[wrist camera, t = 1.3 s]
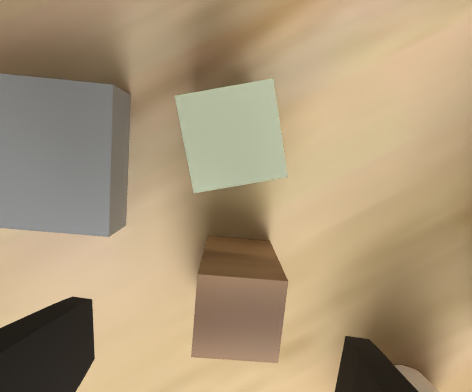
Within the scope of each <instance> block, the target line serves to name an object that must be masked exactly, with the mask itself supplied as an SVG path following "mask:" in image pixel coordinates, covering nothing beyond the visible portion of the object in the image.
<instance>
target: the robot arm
mask: <svg viewBox="0 0 472 392" xmlns="http://www.w3.org/2000/svg"><path fill="white" fill-rule="evenodd" d="M94 359H95V357H94V333H93V309H92V299H85V298H78V297H70V298H68V299H65V300H62V301H60V302H58V303H55V304H53V305H51V306H48V307H46V308H44V309H42V310H39V311H37V312H35V313H33V314H31V315H28V316H26V317H24V318H22V319H20V320H17V321H15V322H13V323H11V324H9V325H6V326H4V327H2V328H0V392H76V390H77V388H78V387H79V385H80V383H81V382H82V380H83V378H84V377H85V375H86V373H87V371H88V370H89V368H90V366H91V364H92V362H93V361H94ZM335 392H419V391H418V390H417V389H416V388H415V387H414V386H413V385H412V384H411V383H410V382H409V381H408V380H407V379H406V378H405V377H404V376H403V374H402V373H401V372H400V371H399V370H398V369H397V368H396V367H395V366H394V365H393V364H392V363H391V362H390V361H389V359H388V358H387V357H386V356H385V355H384V354H383V353H382V352H381V351H380V350H379V349H378V348H377V347H376V346H375V345H374V344H373V343H372V342H371V341H370V340H369V339H363V338H356V337H350V336H346V337H345V342H344V347H343V352H342V357H341V363H340V368H339V373H338V378H337V383H336V388H335Z"/></svg>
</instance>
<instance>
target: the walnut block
mask: <svg viewBox="0 0 472 392" xmlns="http://www.w3.org/2000/svg"><path fill="white" fill-rule="evenodd" d="M287 286H288V280H287V278H286V276H285V273H284V271H283V269H282V267H281V265H280V262H279V260H278V258H277V256H276V253H275V251H274V249H273V247H272V245H271V242H270V241H265V240H253V239H241V238H229V237H217V236H208V238H207V242H206V245H205V249H204V253H203V256H202V260H201V264H200V267H199V271H198V276H197V289H196V302H195V315H194V328H193V342H192V355H191V357H197V358H212V359H226V360H241V361H255V362H269V363H278V359H279V351H280V343H281V335H282V327H283V319H284V311H285V303H286V294H287Z"/></svg>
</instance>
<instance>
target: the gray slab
mask: <svg viewBox="0 0 472 392" xmlns="http://www.w3.org/2000/svg"><path fill="white" fill-rule="evenodd" d="M130 104H131V95H130V94H128V93H127V92H125V91H123V90H122V89H120V88H118V87H117V86H115V85H113V84H104V83H93V82H83V81H73V80H63V79H53V78H43V77H32V76H22V75H12V74H2V73H0V228H7V229H19V230H31V231H43V232H55V233H68V234H80V235H92V236H104V237H109V236H111V235H112V234H114V233H115V232H117V231H118V230H120V229H121V228H123V227H124V226H125V225H126V211H127V184H128V157H129V131H130Z"/></svg>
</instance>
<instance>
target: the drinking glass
mask: <svg viewBox="0 0 472 392" xmlns="http://www.w3.org/2000/svg"><path fill="white" fill-rule="evenodd" d="M394 366H395V367H396V368H397V369H398V370H399V371H400V372H401V373H402V374H403V376H404V377H405V378H406V379H407V380H408V381H409V382H410V383H411V384H412V385H413V386H414V387H415V388H416V389H417V390H418V391H419V392H439V391H438V390H437V389H436V388H435V387H434V386H433V385H432V384H431V383H430V382H429V381H428V380H427V379H426V378H425V377H424V376H423V375H422V374H421V373H420V372H419V371H418V370H416V369H413V368H410V367H407V366H404V365H394Z"/></svg>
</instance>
